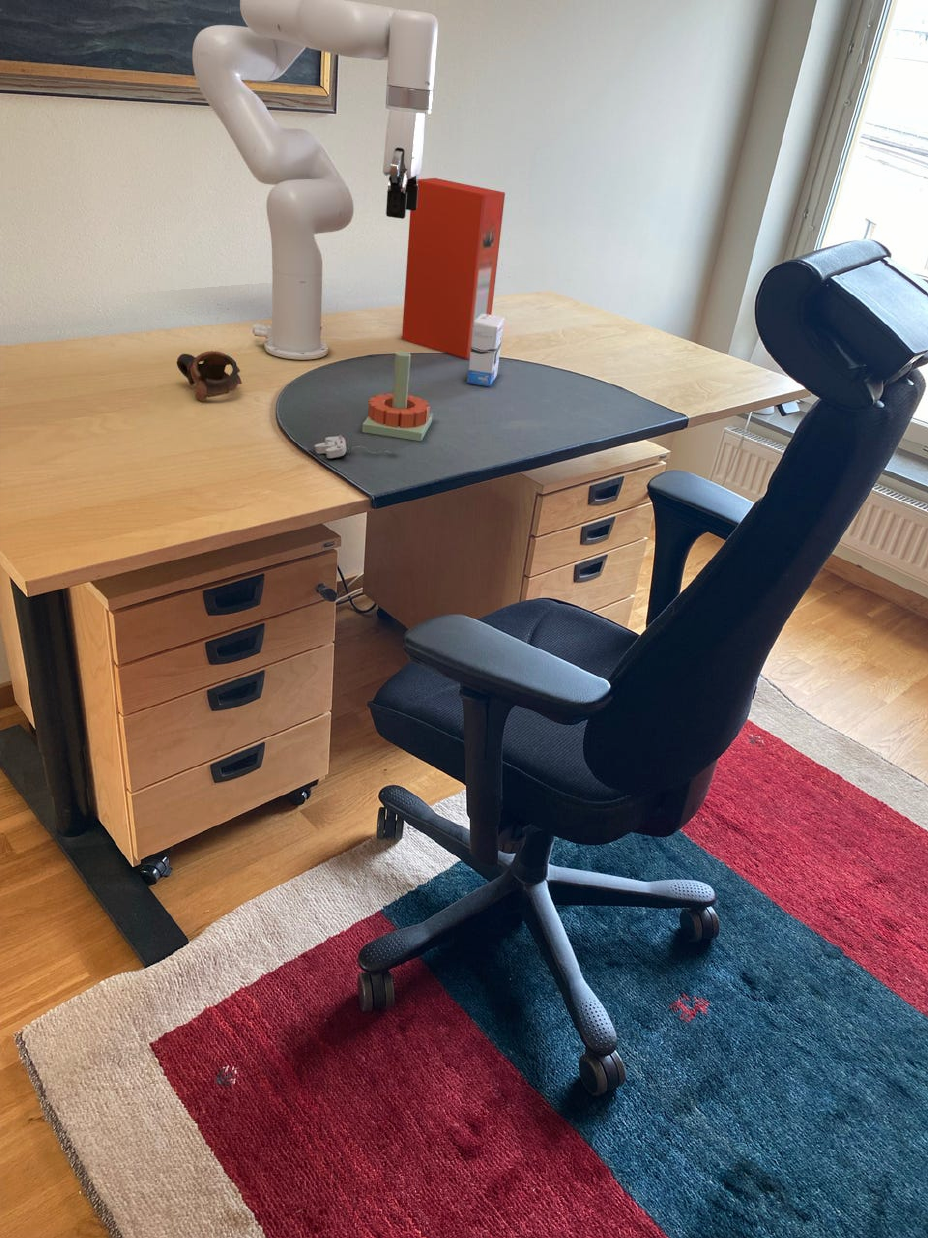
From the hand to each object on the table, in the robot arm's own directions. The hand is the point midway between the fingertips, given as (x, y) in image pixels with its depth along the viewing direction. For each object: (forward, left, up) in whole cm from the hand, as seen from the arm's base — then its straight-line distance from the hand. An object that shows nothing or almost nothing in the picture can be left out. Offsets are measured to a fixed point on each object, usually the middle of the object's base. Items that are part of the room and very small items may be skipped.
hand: (401, 213), depth 162 cm
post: (+6, -21, -30) cm, 37 cm away
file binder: (+5, +31, -31) cm, 44 cm away
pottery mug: (-28, -19, -31) cm, 46 cm away
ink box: (+16, +12, -31) cm, 36 cm away
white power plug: (+2, -36, -31) cm, 47 cm away
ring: (+6, -20, -29) cm, 36 cm away
